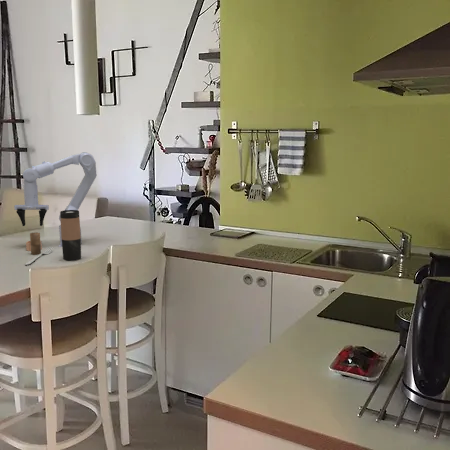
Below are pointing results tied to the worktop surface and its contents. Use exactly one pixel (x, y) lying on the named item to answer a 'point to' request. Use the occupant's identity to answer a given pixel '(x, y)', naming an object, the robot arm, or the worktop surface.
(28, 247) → the cup
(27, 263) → the fork
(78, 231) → the travel mug
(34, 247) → the peg
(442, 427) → the worktop surface
